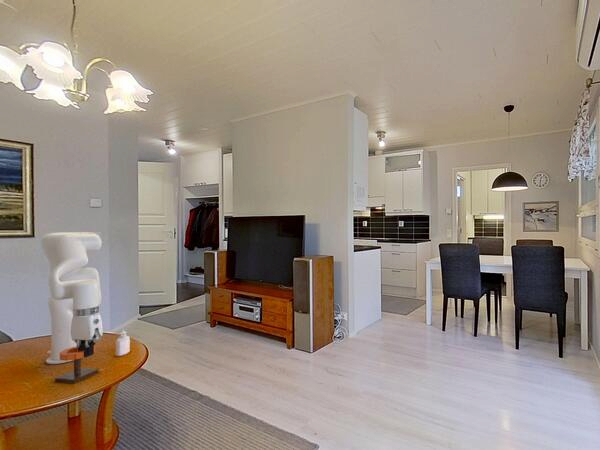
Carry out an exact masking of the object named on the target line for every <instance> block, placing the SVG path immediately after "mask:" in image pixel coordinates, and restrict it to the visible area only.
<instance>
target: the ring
mask: <svg viewBox="0 0 600 450" xmlns="http://www.w3.org/2000/svg"><path fill="white" fill-rule="evenodd" d="M95 353H96V346H95V345H94V354H95ZM80 358H81V359H83V358H85V357H84V350H83V351H79V352H78V347H77V346H76V347H72V348H69V349H66V350H63V351H62V352H60V360H63V361H66V360H67V361H68V360H73V361H74V360H75V359H80Z"/></svg>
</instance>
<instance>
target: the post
mask: <svg viewBox="0 0 600 450" xmlns="http://www.w3.org/2000/svg"><path fill="white" fill-rule="evenodd" d="M99 371H100V370H99V369H98V368H91V367H90V368H89V367H82V358H80V359H75V360H73V370H71V371H69V372H67V373H64V374H61V375H59V376H56V377H55V378H54V382H55V383H65V384H66V383H67V384H76V383H78V382H81V381H83V380H85V379H87V378H89V377H92V376H94V375H96V374H98V373H99Z"/></svg>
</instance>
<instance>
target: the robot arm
mask: <svg viewBox="0 0 600 450" xmlns="http://www.w3.org/2000/svg"><path fill="white" fill-rule="evenodd" d="M40 241H41V243H40V244H41V248H42V251H43V253H44V255H45V256H46V258H47V259H48V262H49V268H50V270H49V271H50V274H49V277H48V287H49V292H50V295H51V296H50V297H49V298H48V302H47V303H48V308H49V313H50V333H51V334H50V336H51V338H50V341H51V343H50V345H51V346H50V350H48V351H46V355H49V357H48V358H47V359H46V360H45V363H46V364H47V365H48V364H49V365H59V364H64V363H69V362H72V361H73V362H74V360H68V361H67V360H66V361H63V360H60V352H62V351H63V350H66V349H69V348H72V347H76V346H77V347H78V352H79V351H83V350H84V358H88V357H91V356H93V355H94V354H95V353H94V346H95V345H96V343H98V342H100V341H101V337H103V333H104V331H103V329H104V327H103V321H102V320H103V319H102V316H101V313H100V305H101V303H102V300H103V299H102V298H103V297H102V288H101V279H100V274H99V271H98V270H97V268H94V267H85V266H86V265H87V264H89V257H88V253H87V252H97V251H99V250H101V248H102V246H103V245H102V244H103V242H102V239H101V237H100V235H98V234H97V233H95V232H92V231H91V232H90V231H65V232H64V231H62V232H61V231H59V232H51V233H50V232H49V233H47V234H44V235H42V237H41V240H40Z"/></svg>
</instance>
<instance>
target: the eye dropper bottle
mask: <svg viewBox="0 0 600 450" xmlns="http://www.w3.org/2000/svg"><path fill="white" fill-rule="evenodd" d="M130 351H131V337H130V336H129V335H127V331H125V329H121V331H120V332H119V337H118V338H117V339H116V341H115V357H122V356H125V355H127V354H129V353H130Z"/></svg>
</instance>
